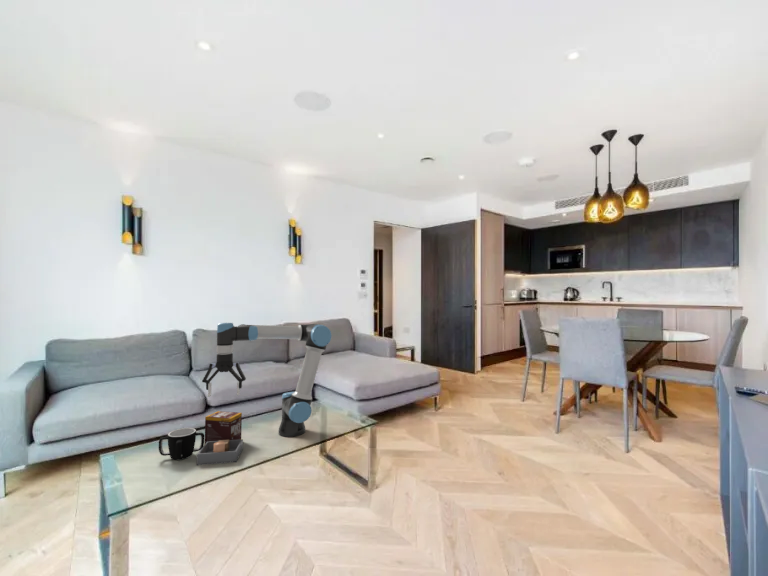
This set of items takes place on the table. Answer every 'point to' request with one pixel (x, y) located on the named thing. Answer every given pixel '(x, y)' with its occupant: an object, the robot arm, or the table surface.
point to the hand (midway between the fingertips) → (224, 395)
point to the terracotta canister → (219, 447)
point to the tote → (219, 453)
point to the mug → (181, 443)
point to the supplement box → (223, 426)
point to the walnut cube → (226, 444)
